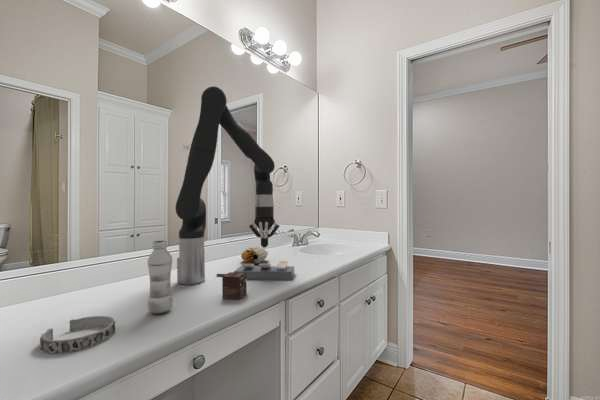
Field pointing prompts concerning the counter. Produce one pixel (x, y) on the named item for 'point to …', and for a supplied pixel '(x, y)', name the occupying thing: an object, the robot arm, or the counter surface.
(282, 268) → the rocker right
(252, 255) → the nautilus
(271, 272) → the power strip
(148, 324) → the counter surface
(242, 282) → the box
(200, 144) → the robot arm
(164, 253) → the plastic bottle
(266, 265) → the rocker middle
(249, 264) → the rocker left
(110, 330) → the bracelet
